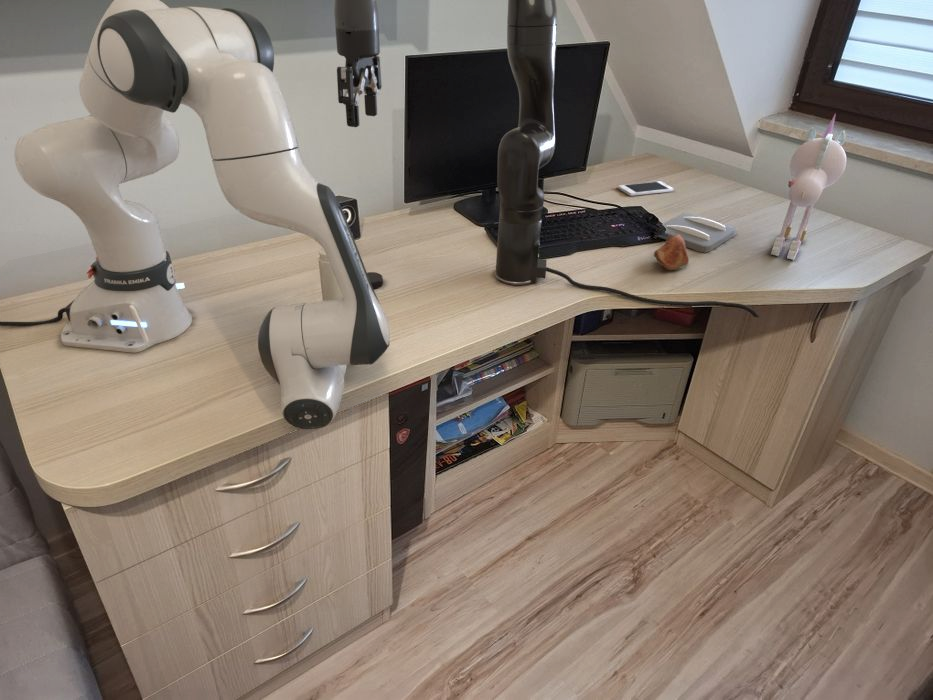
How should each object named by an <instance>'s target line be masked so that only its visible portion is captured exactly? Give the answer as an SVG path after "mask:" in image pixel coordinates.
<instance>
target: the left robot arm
mask: <svg viewBox="0 0 933 700" xmlns="http://www.w3.org/2000/svg"><path fill="white" fill-rule="evenodd" d="M274 53H275V52H274V47H273V43H272V40H271V37H270V35H269V32H268V31H267V29H266V28H265V26H264V24H263V23H262V22H261V21H260V20H259V18H257V17H256V16H254V15H252V14H250V13H248V12H245V11H242V10H238V9H235V8H227V7H226V8H225V7H224V8H220V9H219V8H211V7H201V6H185V5H184V6H179V7H169V6H168V5H167V4H165V2H163V1H161V0H113V1H112V2H111V3H110V5H109V6H108V7H107V9H106V11H105V12H104V14H103V16H102V17H101V19H100V21H99V23H98V24H97V27H96V29H95V32H94V35H93V36H92V39H91V42H90V46H89V48H88V52H87V56H86V59H85V62H84V66H83V70H82V73H81V77H80V80H79V85H78V90H79V95H80V98H81V101H82V103H83V106H84V108H85V109H86V111H87V112H88V113H89V114H90V115H87V116H81V117H77V118H73V119H67V120H63V121H58V122H53V123H49V124H46V125H43V126H41V127H39V128H36V129H34V130H32V131H30V132H28V133H26V134H24V135H22V136H20V137H19V138H18V139H17V141H16V144H15V146H14V147H15V148H14V163H15V166H16V169H17V172H18V174H19V175H20V177H21V179H22V180H23V181H24V182H25V184H26V185H27V186H29V187H30V188H31V189H32V190H33V191H34V192H36V193H38V194H39V195H40V196H43V197H45V198H48V199H51V200H53V201H56V202H58V203H60V204H61V205H64V206H65V207H67V208H68V209H69V210H71V212H73V213H74V214H75V215H76V216H77V217H78V218H79V220H80V221H81V223H82V224H83V226H84V227H85V229H86V232H87V234H88V236H89V239H90V241H91V243H92V246H93V250H94V252H95V254H96V258H95V261H94V262H92V264H90V268H89V269H88V271H87V272H86V275H88V276H87V279H91V278H92V277H93V278H94V280H93V281H91V282H90V283H89V284H88V285H87V286H86V287H84V289H82V291H80V293H79V294H78V295H77V296H76V297H75V298H74V299H73V300H72V301H71V302H70V303H68V304H67V305H66V306H65V307H63V308H60V309H59V310H58V311H57V316H55V317H54V318H51V319H48V320H43V321H0V327H35V326H40V325H47V324H48V325H49V324H54V323H58V322H60V321H61V320H63V317H64V313H66V317H67V320H68V321H67V322H66V324H65V326H64V327H63V328H62V330H61V331H60V332H61V333H60V340H61V344H62V346H66V347H73V348H84V349H85V348H86V349H93V350H102V351H103V350H105V351H112V352H124V353H134V354H135V353H140V352H143V351H144V350H147V349H148V348H151V347H152V346H154V345H157V344H160V343H164V342H167V341H169V340H172V339H174V338H176V337H178V336H180V335H181V334H183V333H184V332H185V331H186V330H188V329H189V328H190V326H191V325H192V322H193V316H192V314H191V313H190V311H189V309H188V307H187V306H186V305H185V302H184V301H183V299H182V296H181V294H180V291H179V289H185V283H184V282H180V283H179V282H178V283H176V282H177V281H176V273H175V272H176V271H175V268H174V266H173V263H172V259H171V255H170V253H169V252H168V251H167V250H166V245H165V241H164V238H163V234H162V229H161V226H160V222H159V218H158V217H157V215H156V214H155V213H154V212H153V210H151V208H150V207H148V206H146V205H145V204H142V203H140V202H136V201H132V200H128V199H124V198H123V196H122V194H121V192H120V185H121V184H124V183H128V182H130V181H134V180H138V179H140V178H144V177H148V176H151V175H153V174H155V173H158V172H160V171H161V170H163V169H165V168H166V167H168V166H169V165H172V164H173V163H174V162H176V161H177V159H178V158H179V154H180V138H179V135H178V132H177V130H176V128H175V126H174V124H173V123H172V121H171V120H170V119H169V118H168V117H167V115H165V114H164V111H166V112H169V113H171V114H173V113H176V112H177V111H178V109H179V108H180V106H181V105H184V106H186V107H189V108H190V109H191V110H192V111H194V112H195V113H196V115H198V117H199V119H200V120H201V123H202V125H203V128H204V133H205V136H206V137H205V138H206V141H207V145H208V151H209V154H210V158H211V162H212V165H213V166H212V167H213V170H214V173H215V177H216V179H217V180H216V181H217V182H218V185H219V188H220V190H221V192H222V194H223V197H224V198H225V200H226V201H227V202H228V203H229V205H230V206H231V207H233V208H234V209H235V210H236V211H238V212H239V213H240V214H242V215H244V216H245V217H247V218H250V219H251V220H254V221H256V222H259V223H262V224H265V225H269V226H274V227H278V228H283V229H287V230H291V231H294V232H298V233H301V234H303V235H305V236H307V237H309V238H311V239H312V240H314V241H315V242H316V243H318V244H319V245H320V247H321V249H322V248H323V249H324V251H325V253H326V255H327V258H328V260H329V262H330V265H331V267H332V270H333V272H334V275H335V277H336V280H337V282H338V285H339V287H340V290H341V292H342V295H343V298H341V299H337V300H330V301H323V300H322V301H316V302H308V303H307V302H304V303H296V304H287V305H281V306H277V307H276V306H274V307H272V308H271V309H270V310H269V311H268V312H267V314H266V315H265V317H264V319H263V321H262V323H261V325H260V327H259V331H258V337H257V347H258V354H259V357H260V361H261V363H262V366H263V367H264V369H265V370H266V372H267V373H268V374H269V376H270V377H271V378H272V379H273V380H274V381H275V382H276V383H277V384H279V386H280V387H279V388H280V410H281V414H282V418H283V419H284V421H285V422H286V423H288V424H289V425H290V426H291V427H294V428H296V429H300V430H316V429H321V428H325V427H326V426H328V425H330V424H331V423H332V422H333V420H334V419H335V418H336V416H337V414H338V411H339V410H340V409H339V408H340V407H341V402H342V398H343V394H344V389H345V375H346V372H347V367H348V365H349V366H361V365H364V366H365V365H373V364H374V363H376V362H377V361H378V360H379V359H380V358H381V357H382V356H383V355H384V354H385V352H386V351H387V350H388V348H389V347H390V345H391V344H390V343H391V341H390V339H391V330H390V323H389V320H388V317H387V314H386V312H385V310H384V308H383V307H382V305H381V303H380V300H379V299H378V296H377V294H376V292H375V289H373V287H372V285H371V282H370V280H369V277H368V274H367V273H368V272H367V269H366V267H365V264H364V261H363V259H362V256H361V253H360V251H359V248H358V245H357V242H356V240H355V238H354V235H353V233H352V230H351V227H350V226H349V225H350V224H349V223H348V221H347V218H346V215H345V213H344V211H343V209H342V206H341V204H340V202H339V200H338V197H337V196H336V195H335V193H334V192H333V190H332V188H331V187H330V186H328V185H325V184H323V183H321V182H318V181H317V180H316V179H315V177H314V176H313V175H312V174H311V172H310V171H309V169H308V168H307V166H306V164H305V162H304V160H303V156H302V155H301V150H300V147H299V142H298V138H297V133H296V130H295V127H294V123H293V120H292V119H293V118H292V115H291V113H290V111H289V108H288V105H287V101H286V99H285V96H284V94H283V90H282V88H281V86H280V84H279V82H278V79H277V77H276V75H275V74H274V72H273V71H274V66H275V54H274Z"/></svg>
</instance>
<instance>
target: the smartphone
mask: <svg viewBox="0 0 933 700" xmlns="http://www.w3.org/2000/svg"><path fill="white" fill-rule="evenodd" d="M617 189H618V190H620V191H621V192H623V193H625V194H627V195H628V196H630V197H633V196H643V195H650V194H651V195H652V194H658V193H659V194H660V193H668V192H673V191H674V187H671V186H670V185H668V184H666V183H665V182H663V181H660V180H658V181H647V182H639V183H638V182H637V183H631V184H630V183H629V184H628V183H627V184H620V185H618V187H617Z"/></svg>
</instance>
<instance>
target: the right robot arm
mask: <svg viewBox="0 0 933 700" xmlns="http://www.w3.org/2000/svg"><path fill="white" fill-rule="evenodd" d="M333 7H334V8H333V9H334V10H333V13H334V28H335V38H336V39H335V40H336V53H337V54H338V55H339V56H341V57H344V58H345V63H344V66H337V67H336V82H337V101H338V103H339V104H343V105H344V106H345V117H346V125H347V127H350V128H358V127H360V110H359V109H360V108H359V101H360V97H361V95H362V94H363V93H364V96H363V97H364V113H365V115H366V116H367V117H376V116H377V115H378V101H377V100H378V99H377V96H378V95H379V90H380V91H381V90H382V73H381V72H382V71H381V70H382V69H381V58H380V56H379V55H380V53H381V49H380V28H379V27H380V26H379V25H380V23H379V8H378V3H377V0H334V6H333ZM557 32H558V8H557V0H507V22H506V50H507V58H508V63H509V65H510V69H511V72H512V75H513V78H514V81H515V83H516V87H517V91H518V98H519V114H518V124H517V127H515V128H512V129H511V130H509V131H507V132H506V133H505V134H504V135H503V136H502V138H501V139H500V142H499V145H498V150H497V168H496V169H497V173H496V175H497V176H496V177H497V178H496V181H497V183H496V185H497V191H498V194H499V211H498V228H497V244H496V260H495V270H494V277H495V278H496V280H498V281H499V282H502V283H503V284H508V285H510V286H525V285H530V284H537V279H546V276H547V275H546V274H547V272H548V273H551V274H554V275H556V276H559V277H561V278H563V279H565V280H566V281H567V282H569V284H570V285H573V286H574V287H577V288H580V289H585V290H590V291H591V290H592V291H602V292H603V291H604V292H608V293H612V294H616V295H619V296H622V297H625V298H629V299H631V300H634V301H639V302H642V303H648V304H654V305H660V306H661V305H663V306H678V307H680V306H681V307H697V306H698V307H699V306H715V307H717V306H718V307H726V308H737V309H742V310H745V311H747V312H748V313H750V314H751V315H752V316H753V317H754V318H760V316H759V314H758V313H757V311H756V310H755V309H753V308H752V307H750V306H749V305H746V304H742V303H737V302H724V301H716V300H702V301H700V300H699V301H677V300H676V301H675V300H662V299H654V298H648V297H643V296H639V295H635V294H631V293H629V292H626V291H622V290H619V289H616V288H612V287H607V286H601V285H591V284H590V285H589V284H584V283H580V282H577V281H576V280H573V278H571V277H570V276H569V275H568V274H566V273H564V272H562V271H560V270H557V269H553V268H550V267H548V266H547V265H548V264H547V261H548V260H547V259H542V258H539V257H540V246H541V244H540V243H541V231H542V222H543V221H542V220H543V213H544V212H543V211H544V201H545V193H544V191H543V189H541V187H539V170H541V168H544V167H545V166H547V165H548V163H550V161H551V159H552V158H553V156H554V153H555V149H556V129H555V109H554V89H555V71H556V53H557V52H556V51H557V37H558V34H557Z"/></svg>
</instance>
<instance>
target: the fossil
mask: <svg viewBox="0 0 933 700" xmlns="http://www.w3.org/2000/svg"><path fill="white" fill-rule="evenodd" d="M653 256H654V258H655V260H656V261H657V262H658V263H659V265H661V266H662V267H663V268H665V269H666V270H667V271H676V270H679V269H681V268H682V267H685V266H686V265H688V264H689V262H690V260H689V259H690V258H689V255H688V252H687V247H686V245H685V241H684V239H683V238H682V236H681V235H680V234H678V235H676V236H672V237H670V238H668V240H665V242H664V244H662V245H661V246H660V247H658V248H657V249H656V250H655V251H654V252H653Z"/></svg>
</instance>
